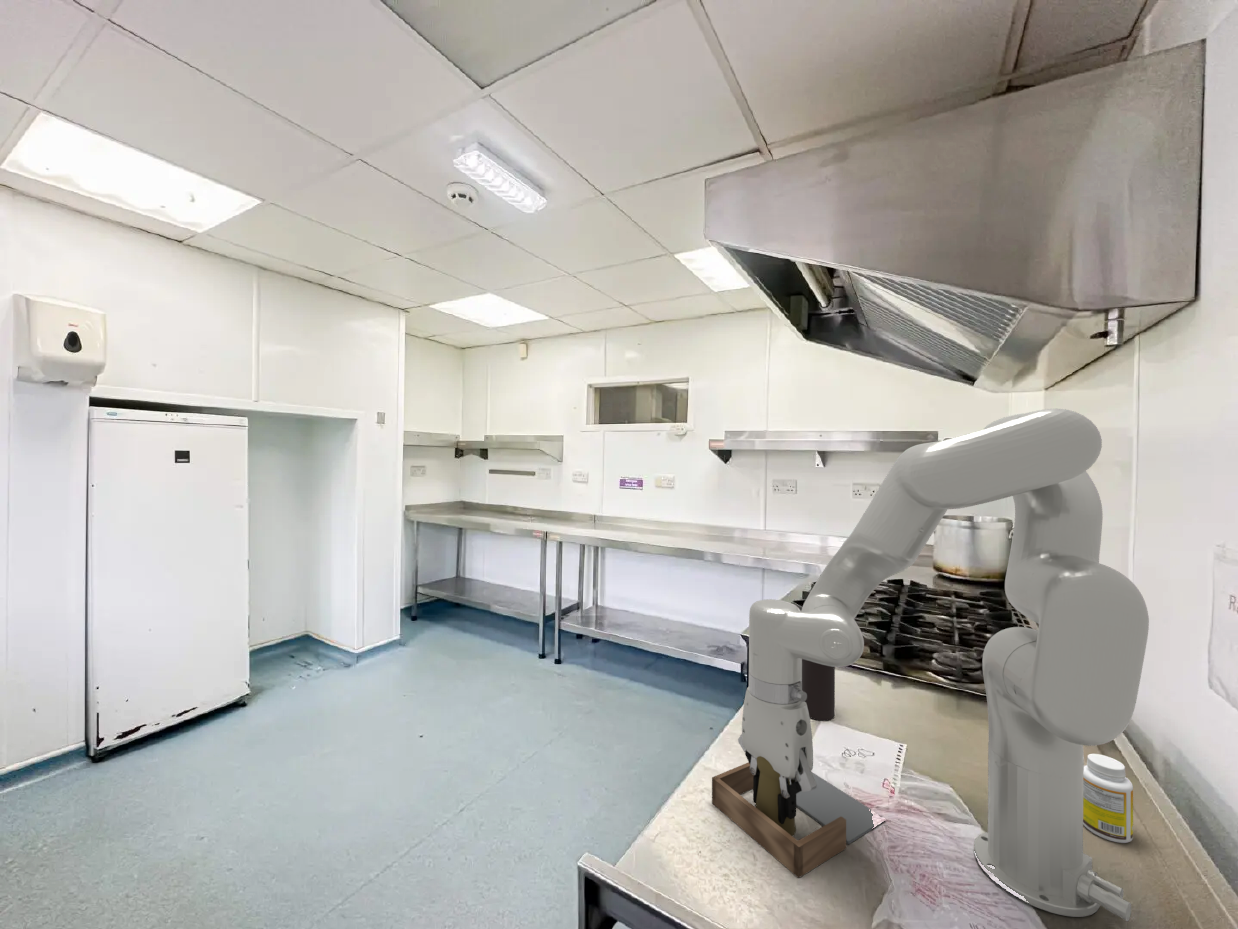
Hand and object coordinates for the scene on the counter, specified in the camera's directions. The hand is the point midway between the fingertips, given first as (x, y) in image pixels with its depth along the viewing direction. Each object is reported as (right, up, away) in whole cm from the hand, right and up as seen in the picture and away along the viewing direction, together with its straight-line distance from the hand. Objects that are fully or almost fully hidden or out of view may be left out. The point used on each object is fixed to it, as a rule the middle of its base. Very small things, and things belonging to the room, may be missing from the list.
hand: (774, 808), depth 74 cm
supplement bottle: (+48, -3, -1) cm, 48 cm away
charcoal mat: (+9, -2, +5) cm, 11 cm away
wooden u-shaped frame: (0, -2, 0) cm, 2 cm away
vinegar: (+20, -3, +33) cm, 39 cm away
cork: (0, -3, 0) cm, 3 cm away
